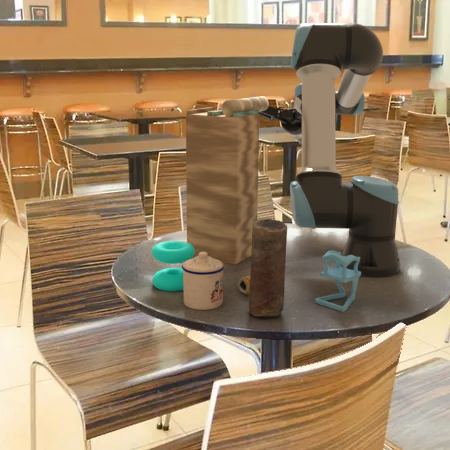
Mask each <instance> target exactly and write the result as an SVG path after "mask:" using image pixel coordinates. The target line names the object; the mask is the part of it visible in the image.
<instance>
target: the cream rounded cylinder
mask: <svg viewBox="0 0 450 450" xmlns="http://www.w3.org/2000/svg"><path fill="white" fill-rule="evenodd" d="M269 102H270V101H269V99H268V97H266V96H264V95H260V96H255V97H251V98H249V97H244V98H243V97H242V98H236V99H229V100H227V99H226V100H225V101H224V102H222V104H221V110H222V112H223V114H224V115H225V116H228V117H230V116H233V113H238V112H244V111H251V110H259V112H260V111H265V110H266V109H267V108H268V106H270V105H269Z"/></svg>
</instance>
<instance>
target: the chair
mask: <svg viewBox="0 0 450 450" xmlns="http://www.w3.org/2000/svg"><path fill="white" fill-rule="evenodd" d="M322 261H323V265H324V269H323V270H322V271H320V272H319V273H320V274H319V276H320V277H324V278H329V279H332V280H334V282H335V284H336V286H337V288H338V290H339V292H337V293H331V294H329V295H324V296H318V297H316V298H314V303H315V304H317V305H321V306H323V307H327V308H331V309H334V310H337V311H340V312H346V311H347V310H348V309H349V307H350V306H351V304H352V303H353V302H354V301H355V300H356V291H357V287H358V283H359V279H360V277H362V276H361V272H359V271H358V264H359V261H360V257H356V256H353V255H348V256H342V253H341V252H340V251H336V250H332V249H331V250H328V251H326V252H325V253H324V255H322ZM353 261H356V263H355V265H354V270H350V269H347V268H346V267H347V266H348V265H349V264H350V263H351V262H353ZM328 262H330V263H336V264H335V265H334V266H332V267H330V268H329V264H328ZM340 265H342V266H343V267H341V266H340ZM348 282H351V287H350V293H349V296H348V298H347V299H346V301H345V303H344V304H343V305H339V304H336V303H333V302H330V301H332V300H337V299H341V298H345V297H346V296H347V294H346V292H347V291H346V290H345V288H344V287H343V284H342V283H346V284H347V283H348Z"/></svg>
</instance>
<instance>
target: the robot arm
mask: <svg viewBox="0 0 450 450" xmlns="http://www.w3.org/2000/svg"><path fill="white" fill-rule="evenodd" d="M294 33H295V34H294V39H293V44H292V45H293V46H292V52H291V58H290V59H291V60H290V68H291V69H293V70H294V71H295V75H296V77H297V78H298V80H300V81H301V83H299V84H297V85H296V86H295V87H294V97H293V107H291V108H288V109H283V108H282V107H273V106H270V105H269V106H268V108H267V109H266V110H265V111H260V112H258V114H259V117H262V118H265V119H267V120H268V121H270V122H272V121H274V120H276V121H278V122H280V124H281V127H282V128H283V130H284V131H285V132H287V133H288V134H289V135H291V137H292V138H293V139H294V140H296V141H297V142H298V144H300V145H301V169H300V170H299V172H297V173H296V174H295V180H294V181H291V182H290V185H289V194H290V195H289V197H290V199H289V200H290V206H291V212H292V218H293V221H294V223H295V225H296V226H297V227H299V228H306V229H313V230H315V229H340V230H341V229H342V230H344V229H348V237H347V240H346V243H345V246H344V247H343V248H344V249H343V252H342V253H341V255H342V256H348V255H353V256H356V257H360V261H359V264H358V271H359V272H361V276H360V277H371V278H383V277H390V276H393V275H397V274H398V273H399V272H400V271H401V270H400V269H401V259H400V258H399V252H398V249H397V248H398V247H397V242H396V233H397V219H398V208H399V207H398V206H399V204H400V203H399V188H398V186H397V185H396V184H395V183H394V182H393V181H391V180H387V179H382V178H381V177H380V178H378V177H374V176H373V177H372V176H367V175H354V176H353V177H352V178H351V179H350V182H343V175H342V173H341V172H340V171H339V170H338V169H337V168H336V165H337V164H336V159H337V157H336V150H337V149H336V115H338V116H343V115H344V116H355V115H357V116H358V115H361V114H363V112H364V108H365V105H366V104H365V101H366V99H365V94H364V91H365V89H366V87H367V85H368V83H369V81H370V78H371V76H372V75H373V74H374V73H376V72H377V71H378V69H379V68H380V66H381V64H382V62H383V59H384V51H383V45H382V42H381V40H380V39H379V37H378V36H377V35H376V34H375V33H374V31H372V29H370V28H368V27H367V26H365V25H363V24H360V23H354V22H348V23H346V22H345V23H343V22H341V23H340V22H335V23H333V22H332V23H331V22H311V23H310V22H309V23H304V22H303V23H300V24H298V25H297V26H296V29H295V32H294ZM342 70H343V74H342ZM341 74H342V75H341ZM340 76H342V77H341V78H340V82H339V85H338V88H337V90H336V80H337V79H338V78H339V77H340ZM251 97H256V96H255V95H254V94H251V93H250V94H249V97H248V98H251ZM355 263H356V261H353V262H351V263H350V264H349V265H348V266H347V267H346V268H347V269H350V270H354V265H355ZM340 266H341V267H343V266H342V265H340Z"/></svg>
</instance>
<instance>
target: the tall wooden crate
mask: <svg viewBox="0 0 450 450" xmlns="http://www.w3.org/2000/svg"><path fill="white" fill-rule="evenodd" d="M258 112H259V110H251V111H244V112H238V113H233V116H230V117H228V116H225V115H224V114H223V112H222V109H217V110H216V109H215V107H214V106H209V107H203V108H201V107H200V108H195V109H187V110H186V114H185V139H186V140H185V155H186V156H185V157H186V159H185V162H186V163H185V165H186V167H185V172H186V173H185V174H186V178H185V179H186V180H185V181H186V182H185V183H186V184H185V185H186V242H187V243H189V244H191V245H192V246H193V247H194V250H195V253H194V257H193V258H195V257H197V256H199V253H200V252H207V254H208V256H210V257H212V258H214V259H217V260H220V261H221V262H222V263H223V264H229V265H237V264H239V263H241V262H242V261H244V260H246V259H248V258H249V257H250V258H251V249H252V228H253V224H254V222H255V221H257V220H258V205H259V203H258V196H259V194H258V193H259V157H260V156H259V153H260V147H259V146H260V115H259V114H258Z"/></svg>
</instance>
